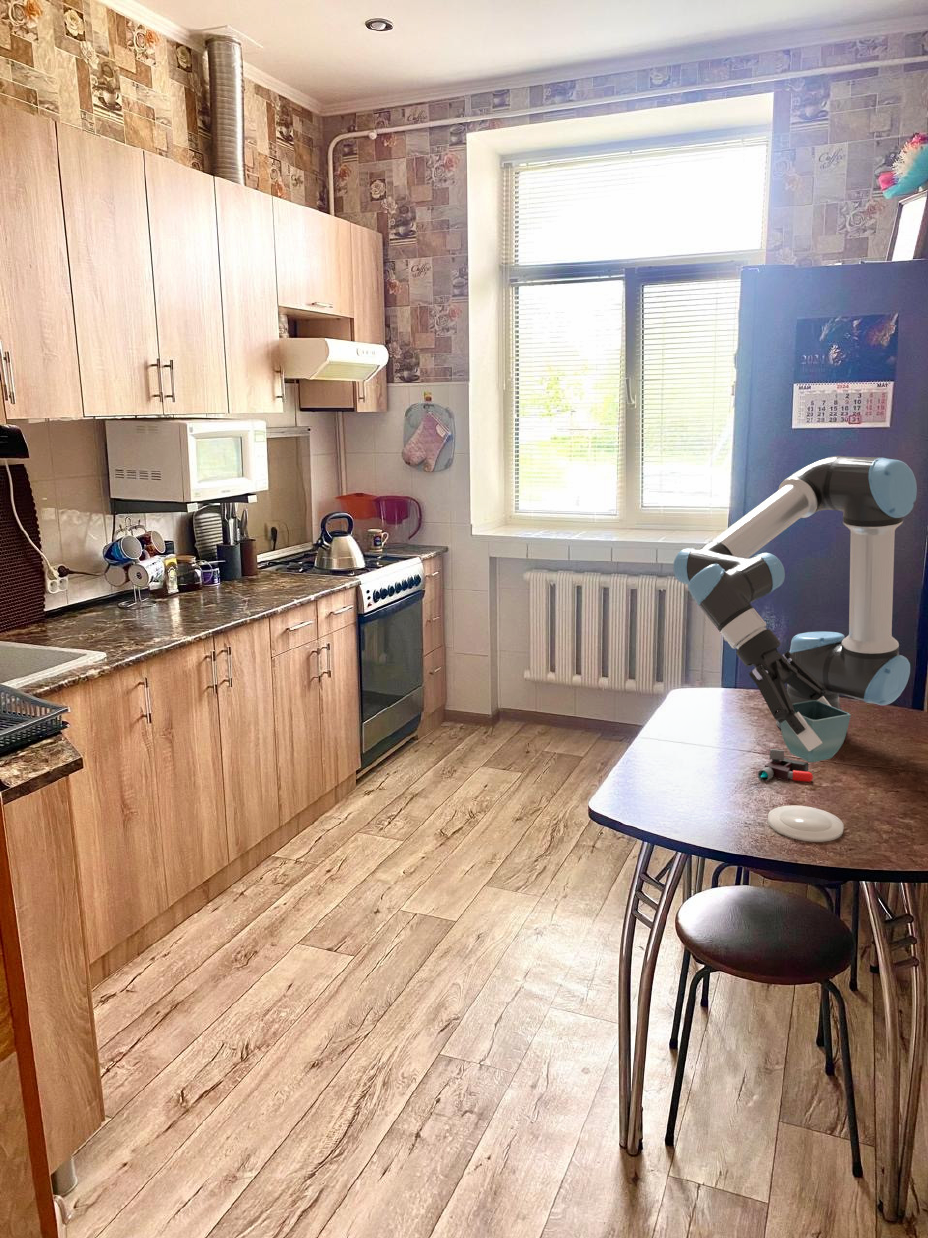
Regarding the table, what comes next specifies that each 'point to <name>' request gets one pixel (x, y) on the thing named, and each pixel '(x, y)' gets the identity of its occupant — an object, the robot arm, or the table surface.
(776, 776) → the toy gun
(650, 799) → the table surface
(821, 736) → the flower pot
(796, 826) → the saucer
